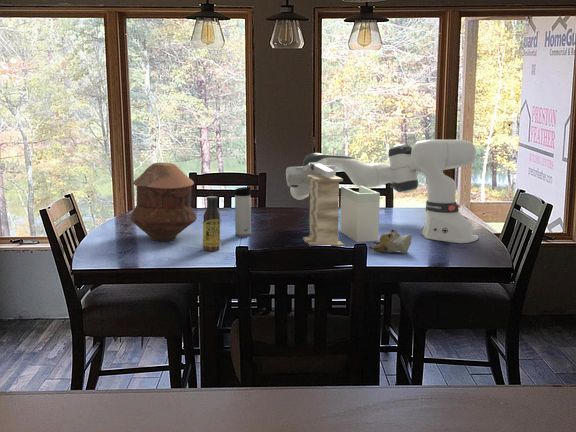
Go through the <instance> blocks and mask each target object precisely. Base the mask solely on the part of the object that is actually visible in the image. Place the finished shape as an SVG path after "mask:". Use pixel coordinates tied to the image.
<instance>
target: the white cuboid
mask: <svg viewBox="0 0 576 432" xmlns="http://www.w3.org/2000/svg"><path fill="white" fill-rule="evenodd" d="M380 198H381V192H378V191H376V190H372V188H366V187H363V186H359V187H358V191H354V190H352V189H351V188H349V187H345V186H343V185H342V186H340V212H339V213H340V216H339V217H340V219H339V222H340V223H339V227H340V229H339V231H340V232H341V233H342V234H343V235H345V236H347V237H348V238H350V239H351V240H353V241H354V242H356V243H365V242H379V240H380V237H379V230H380V202H381V199H380Z"/></svg>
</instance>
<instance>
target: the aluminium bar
mask: <svg viewBox="0 0 576 432" xmlns="http://www.w3.org/2000/svg"><path fill="white" fill-rule="evenodd" d="M309 164H312V165H311V166H312V168H311V170H313V171H315V172H317V173H319V174H321V175H322V176H324V177H326V178H327V177H334V170H331V169H329V168H327V167H325V166H323V165H321V164H319V163H317V162H313V163H309Z"/></svg>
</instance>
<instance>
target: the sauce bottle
mask: <svg viewBox="0 0 576 432" xmlns="http://www.w3.org/2000/svg"><path fill="white" fill-rule="evenodd" d="M205 200H206V209H205V212H204V214H203V222H202V249H203V250H204V251H208V252H217V251H219V250H220V245H221V215H220V212H219V210H218V196H214V195H210V196H206V199H205Z"/></svg>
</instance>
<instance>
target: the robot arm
mask: <svg viewBox="0 0 576 432" xmlns="http://www.w3.org/2000/svg"><path fill="white" fill-rule="evenodd" d="M476 156H477V150H476V147H475V145H474V143H473V142H472V141H469V140H464V139H424V140H419V141H416V142H415V143H414V144H413V145H412V146H410V145H408V144H404V143H399V144H395V145H394V146H392V147H390V148H389V149H388V161H389V164H388V163H386V162H363V161H360V160H358V159H357V158H356V157H353V156H347V155H336V154H335V155H334V154H324V153H320V152H314V153H313V152H312V153H309V154H307V155H306V156H305V157H304V160H303V162H302V166H289V167H287V168H286V169H285V177H286V178H285V181H286V183H287V184H286V185H287V187H290V188H289V189H290V190H289V191H290V194H291V196H292V197H293V199H296V200H298V201H299V200H304V199H306V198H308V197H310V179H309V178H307V175H316V174H319V173H317V172H315V171H313V170H311V168H312V166H311V165H312V164H309V163H313V162H317V163H319V164H321V165H323V166H325V167H327V168H329V169H331V170H334V175H335V176H336V173H337V172H336V171H337V169H336V168H339V169H341V170H342V171H344V173H346V176H348V178H349V179H350V182H352V183H353V184H354V185H355V186H356V187H358V188H359V186H363V187H366V188H368V189H372V188H376V187H380V186H383V185H386V184H391V185H390V186H389V187H390V188H392V189H393V190H394V191H396V192H397V193H402V194H410V193H412V192H414V191H415V190H417V189H418V187H419V179H418V174H420V175H424V176H425V178H426V183H427V184H426V186H427V200H425V201H426V202H425V218H424V219H425V220H424V226H423V230H422V231H421V235H422V236H423V237H424V238H425V239H426V240H434V241H440V242H441V241H442V242H447V243H456V244H466V243H472V242H475V241H477V240H479V236H478V235H476V234H473V233H474V230H473V226H472V222H470V221H469V220H468V219H467V218H466V216H464V215H463V214H462V213H461V212H460V210H459V208H461V206H462V204H458V203H457V201H456V195H457V194H456V192H457V183H456V181H455V180H454V179H453V178H451V176H448V175H446V174H445V173H444V171H446V170H451V169H456V168H461V167H467V166H471V165H472V164H473V163H474V161H476V160H475V159H476Z"/></svg>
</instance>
